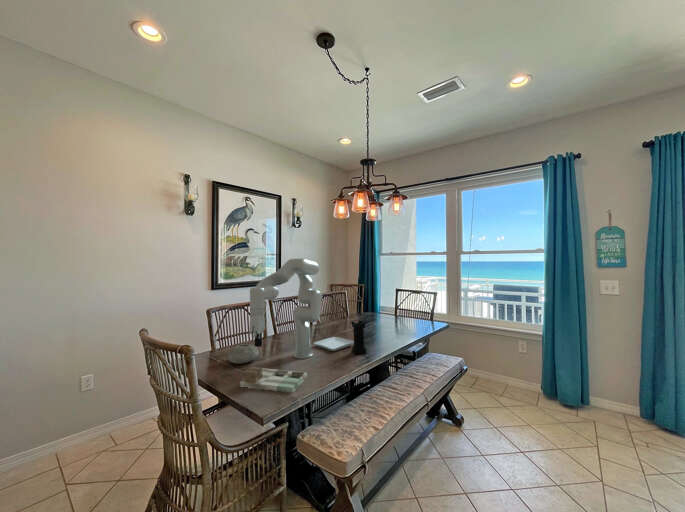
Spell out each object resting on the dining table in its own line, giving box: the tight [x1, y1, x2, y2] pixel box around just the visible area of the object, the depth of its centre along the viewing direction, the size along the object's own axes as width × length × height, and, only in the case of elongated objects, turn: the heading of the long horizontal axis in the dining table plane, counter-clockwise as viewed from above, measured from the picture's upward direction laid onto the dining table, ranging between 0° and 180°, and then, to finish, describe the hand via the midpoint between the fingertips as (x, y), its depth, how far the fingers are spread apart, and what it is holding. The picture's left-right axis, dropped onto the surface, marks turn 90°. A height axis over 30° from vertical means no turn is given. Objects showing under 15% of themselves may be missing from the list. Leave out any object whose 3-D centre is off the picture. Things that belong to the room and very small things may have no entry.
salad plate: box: [313, 336, 354, 352], centre depth 199 cm, size 21×21×3 cm
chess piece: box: [350, 320, 368, 356], centre depth 184 cm, size 8×8×20 cm
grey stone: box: [227, 343, 259, 365], centre depth 173 cm, size 18×18×10 cm
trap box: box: [239, 367, 308, 394], centre depth 144 cm, size 18×28×2 cm, turn 75°
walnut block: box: [244, 366, 263, 383], centre depth 141 cm, size 6×6×5 cm
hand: (258, 346), depth 147 cm, fingers closed
